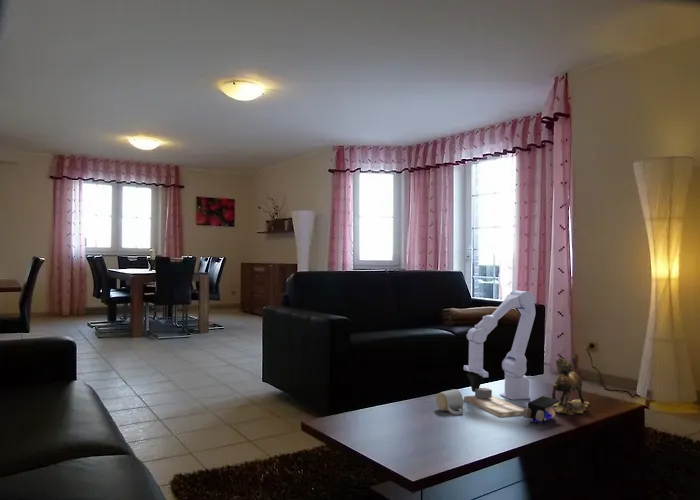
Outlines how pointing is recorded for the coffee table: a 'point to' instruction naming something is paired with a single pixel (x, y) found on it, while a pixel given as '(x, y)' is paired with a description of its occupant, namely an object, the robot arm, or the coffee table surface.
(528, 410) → the figurine character
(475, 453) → the coffee table surface
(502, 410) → the fader console
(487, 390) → the fader tab
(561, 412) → the figurine
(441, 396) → the ceramic mug
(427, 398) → the coffee table surface
